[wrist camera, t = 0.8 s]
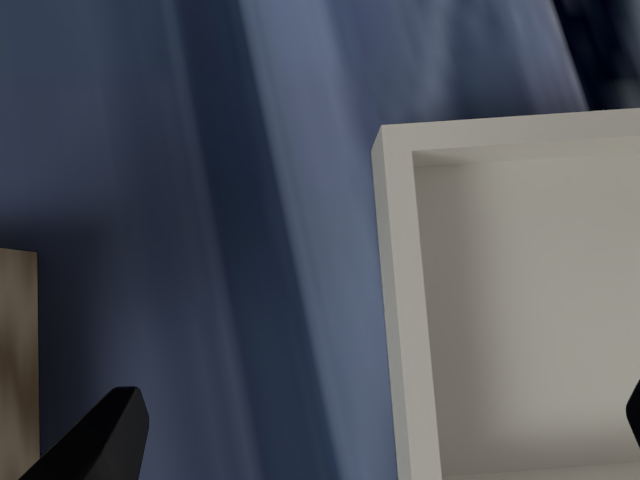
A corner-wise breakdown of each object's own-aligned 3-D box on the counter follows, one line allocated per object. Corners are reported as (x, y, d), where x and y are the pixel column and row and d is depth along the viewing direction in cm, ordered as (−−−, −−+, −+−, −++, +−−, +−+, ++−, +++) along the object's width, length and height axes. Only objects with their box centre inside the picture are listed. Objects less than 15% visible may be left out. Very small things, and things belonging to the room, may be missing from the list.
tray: (752, 471, 22) (842, 510, 18) (400, 499, 22) (417, 544, 18) (699, 128, 24) (772, 99, 20) (370, 150, 23) (381, 125, 20)
